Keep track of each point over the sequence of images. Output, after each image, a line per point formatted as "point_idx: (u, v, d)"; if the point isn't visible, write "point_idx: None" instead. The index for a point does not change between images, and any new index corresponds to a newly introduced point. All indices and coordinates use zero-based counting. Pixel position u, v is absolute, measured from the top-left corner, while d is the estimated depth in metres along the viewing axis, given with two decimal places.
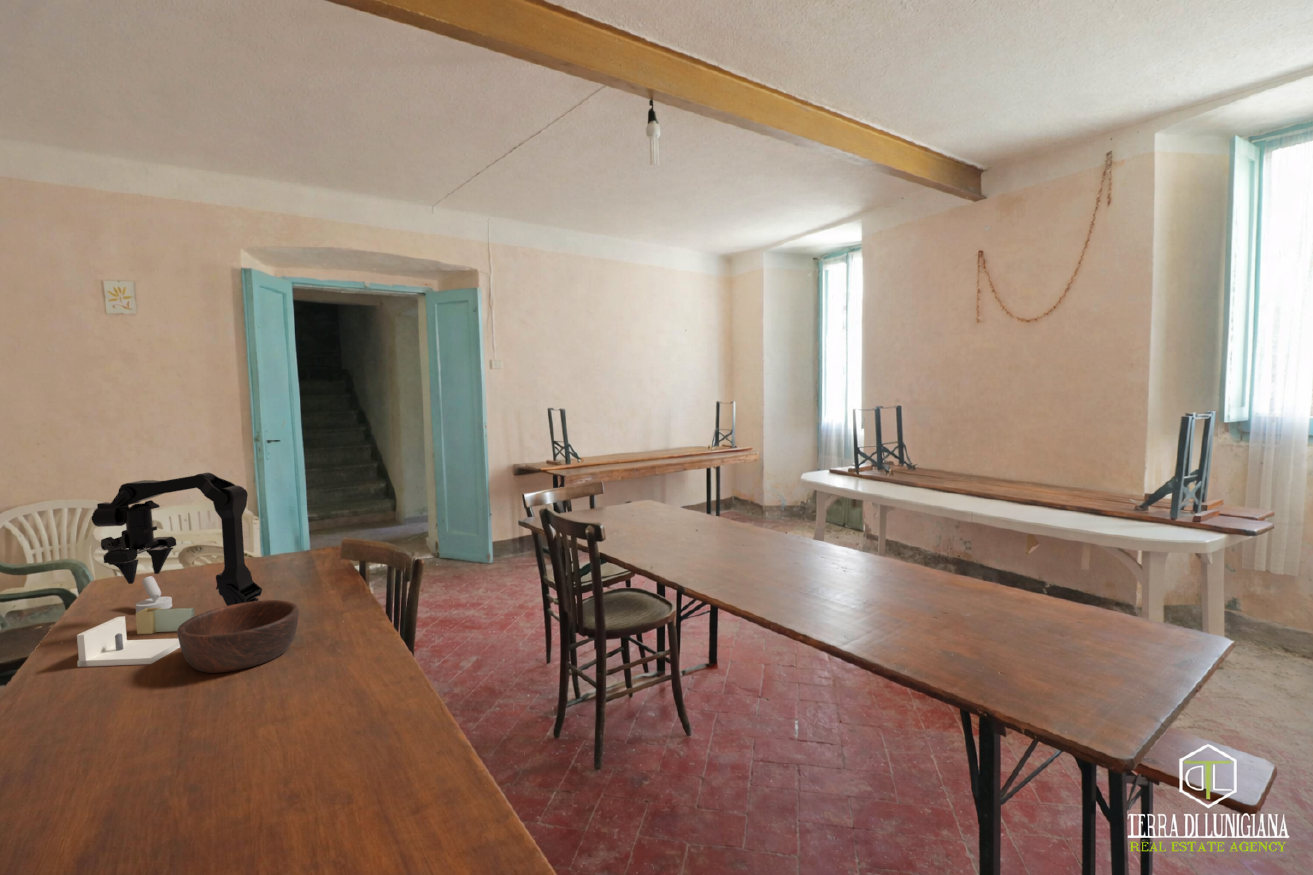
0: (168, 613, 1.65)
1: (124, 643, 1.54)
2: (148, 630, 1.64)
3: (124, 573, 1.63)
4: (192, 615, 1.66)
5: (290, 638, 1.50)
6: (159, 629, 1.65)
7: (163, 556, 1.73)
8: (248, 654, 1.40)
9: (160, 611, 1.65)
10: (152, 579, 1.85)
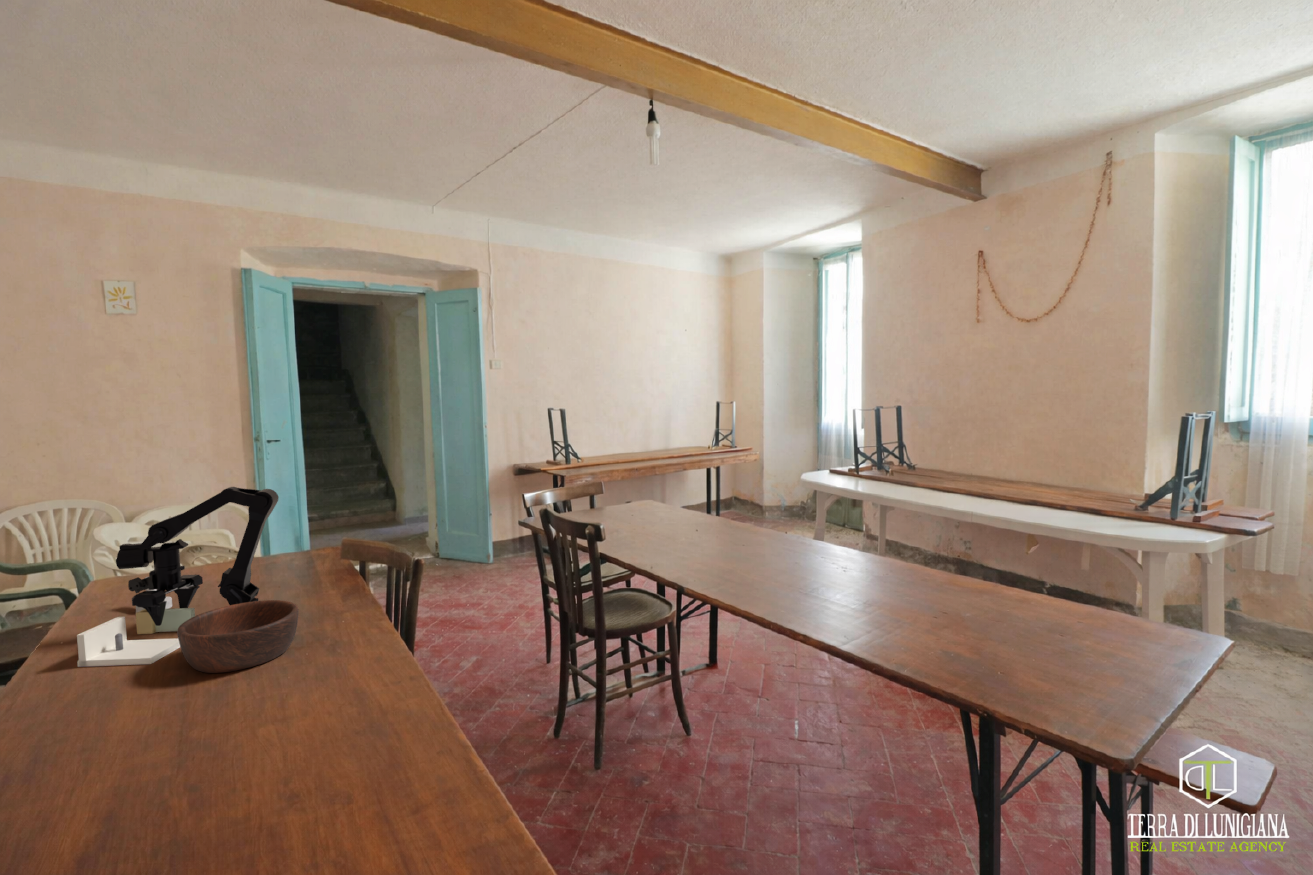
0: (168, 613, 1.65)
1: (124, 643, 1.54)
2: (148, 630, 1.64)
3: (152, 615, 1.60)
4: (192, 615, 1.66)
5: (290, 638, 1.50)
6: (159, 629, 1.65)
7: (190, 595, 1.70)
8: (248, 654, 1.40)
9: None
10: None
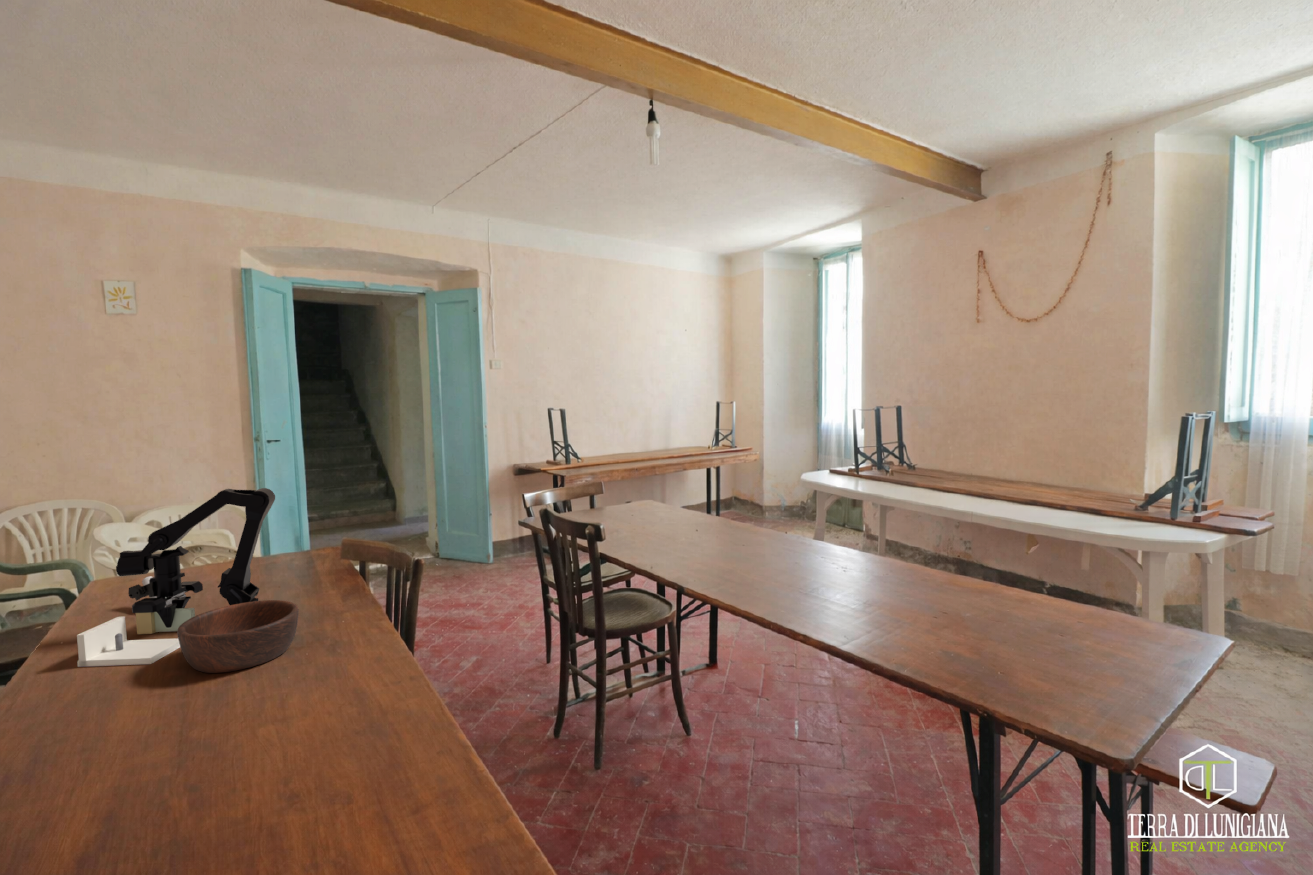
0: None
1: (124, 643, 1.54)
2: (148, 630, 1.64)
3: (162, 617, 1.63)
4: (192, 615, 1.66)
5: (290, 638, 1.50)
6: (159, 629, 1.65)
7: (181, 606, 1.67)
8: (248, 654, 1.40)
9: None
10: None
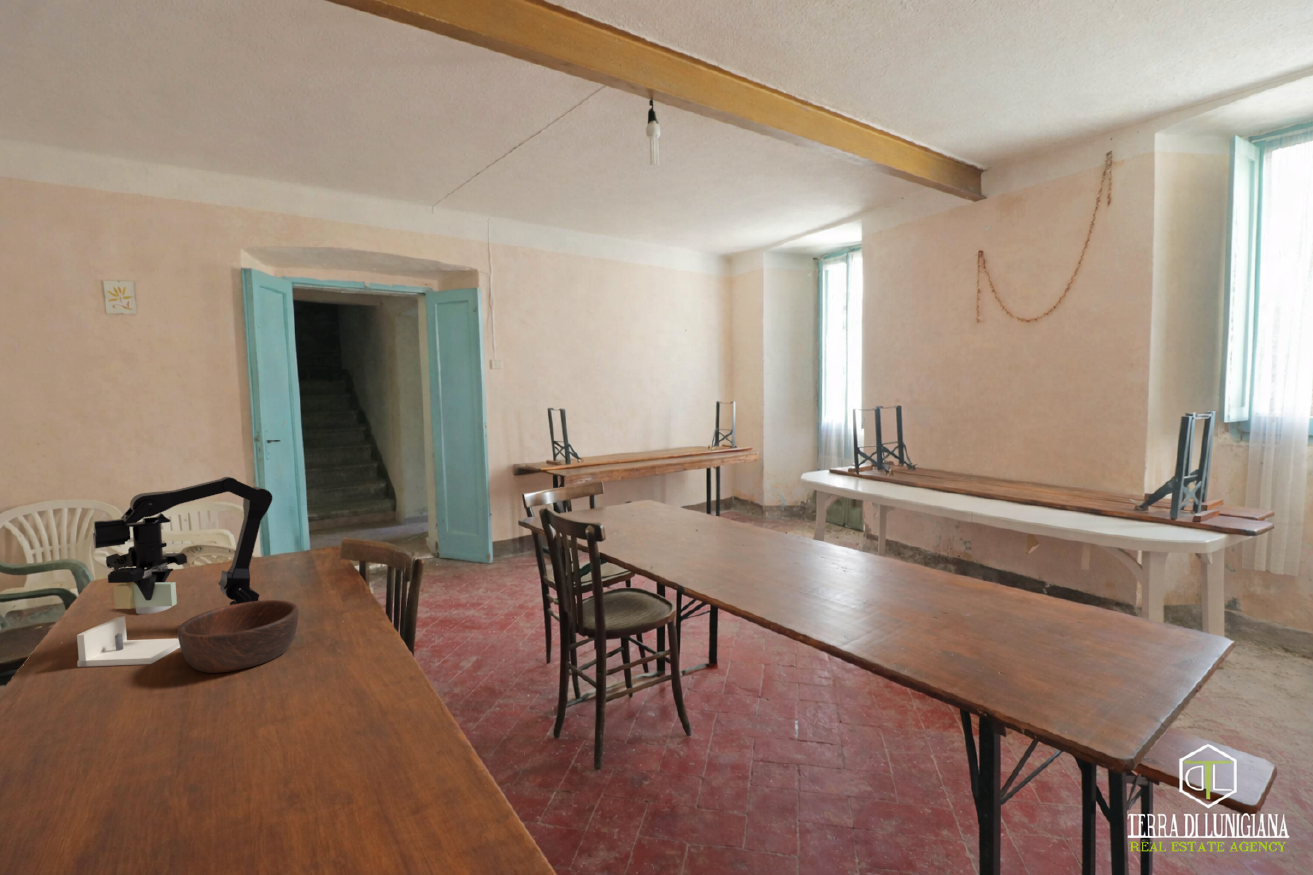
0: None
1: (124, 643, 1.54)
2: (126, 605, 1.54)
3: (141, 589, 1.54)
4: (173, 590, 1.56)
5: (290, 638, 1.50)
6: (138, 604, 1.55)
7: (162, 578, 1.57)
8: (248, 654, 1.40)
9: None
10: None
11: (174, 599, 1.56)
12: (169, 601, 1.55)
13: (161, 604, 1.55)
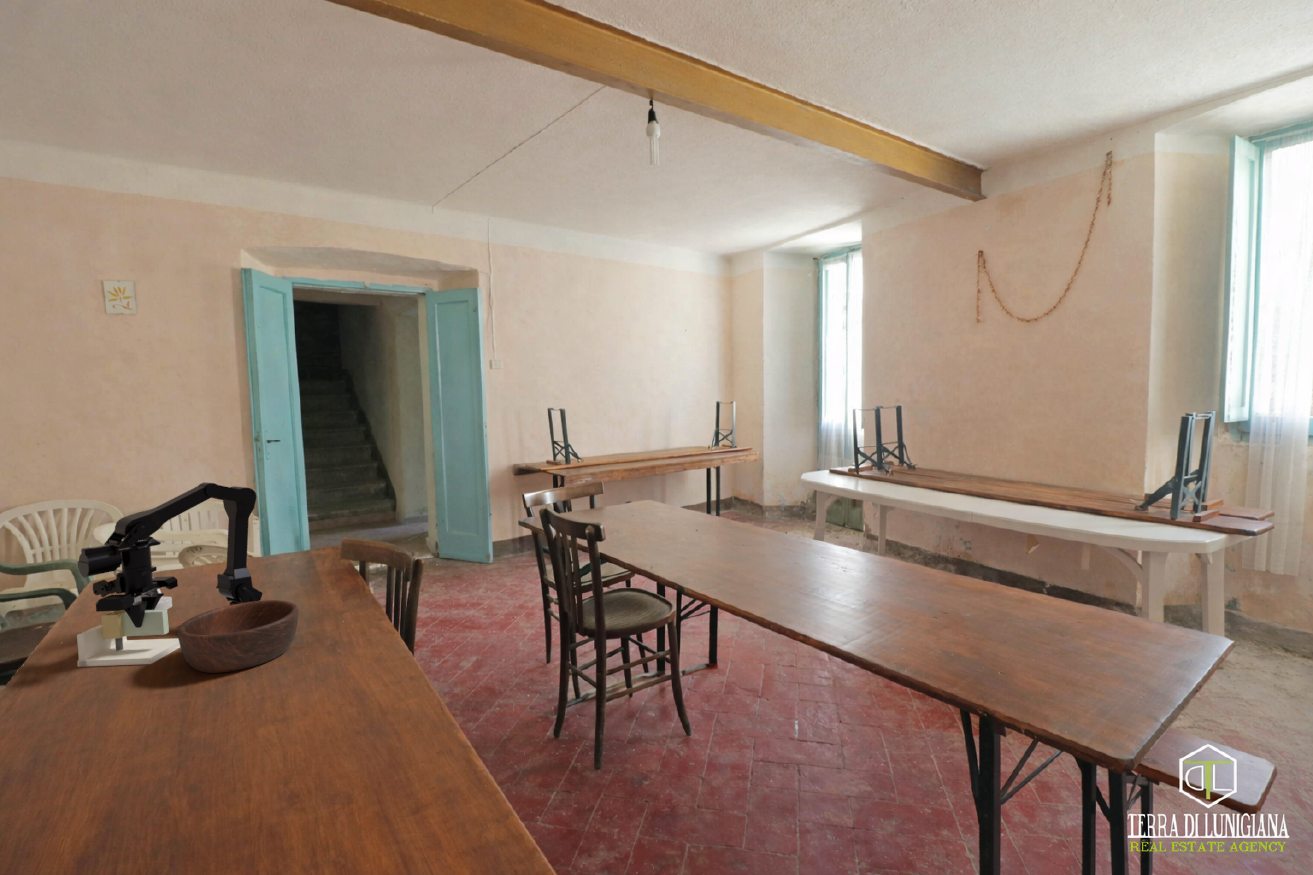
0: None
1: (124, 643, 1.54)
2: (115, 634, 1.48)
3: (131, 616, 1.47)
4: (164, 617, 1.50)
5: (290, 638, 1.50)
6: (128, 633, 1.49)
7: (152, 604, 1.51)
8: (248, 654, 1.40)
9: None
10: None
11: (166, 627, 1.50)
12: (161, 630, 1.49)
13: (153, 633, 1.49)
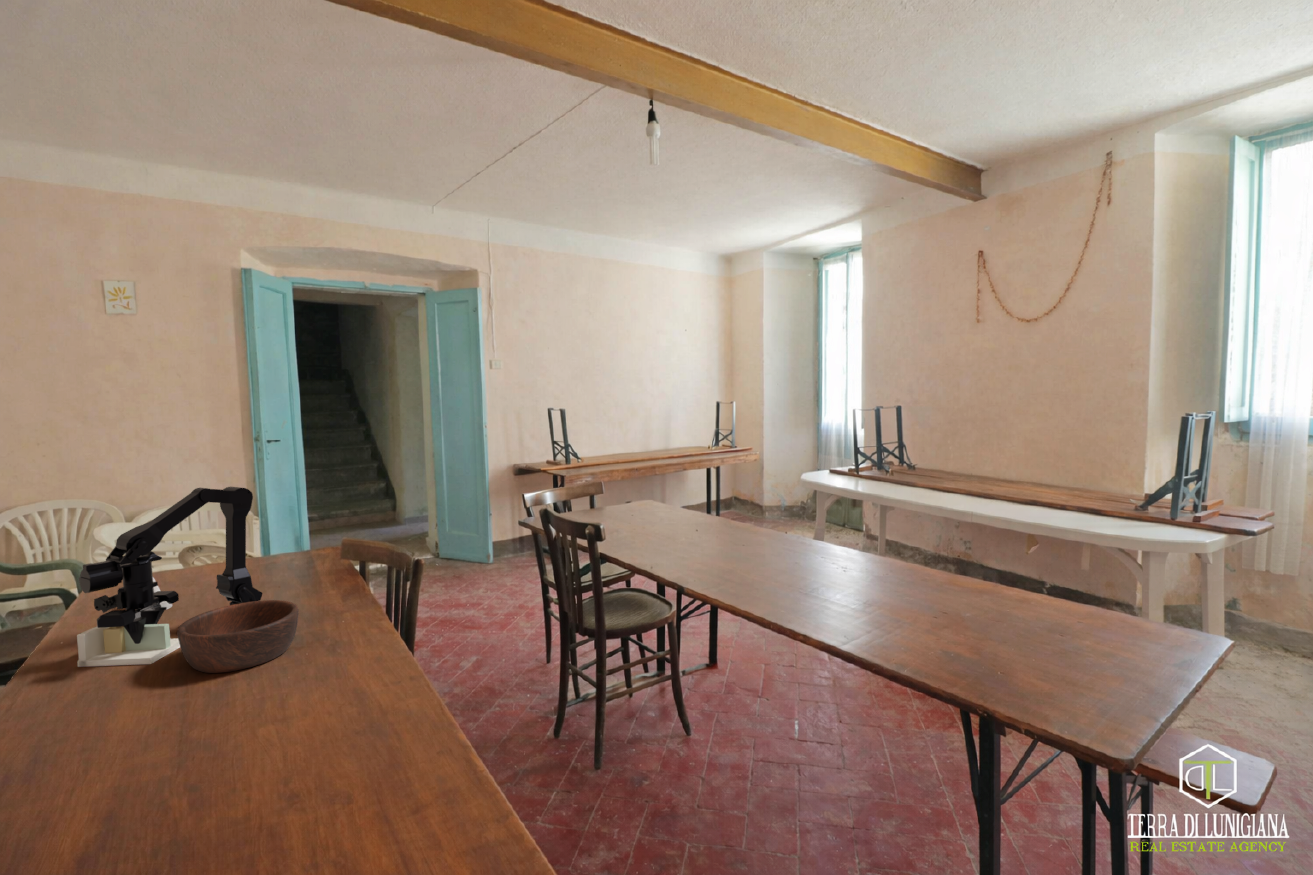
0: None
1: None
2: (117, 649, 1.48)
3: (130, 632, 1.47)
4: (166, 632, 1.50)
5: (290, 638, 1.50)
6: (130, 647, 1.49)
7: (155, 618, 1.52)
8: (248, 654, 1.40)
9: None
10: None
11: (168, 641, 1.51)
12: (163, 644, 1.50)
13: (154, 647, 1.50)
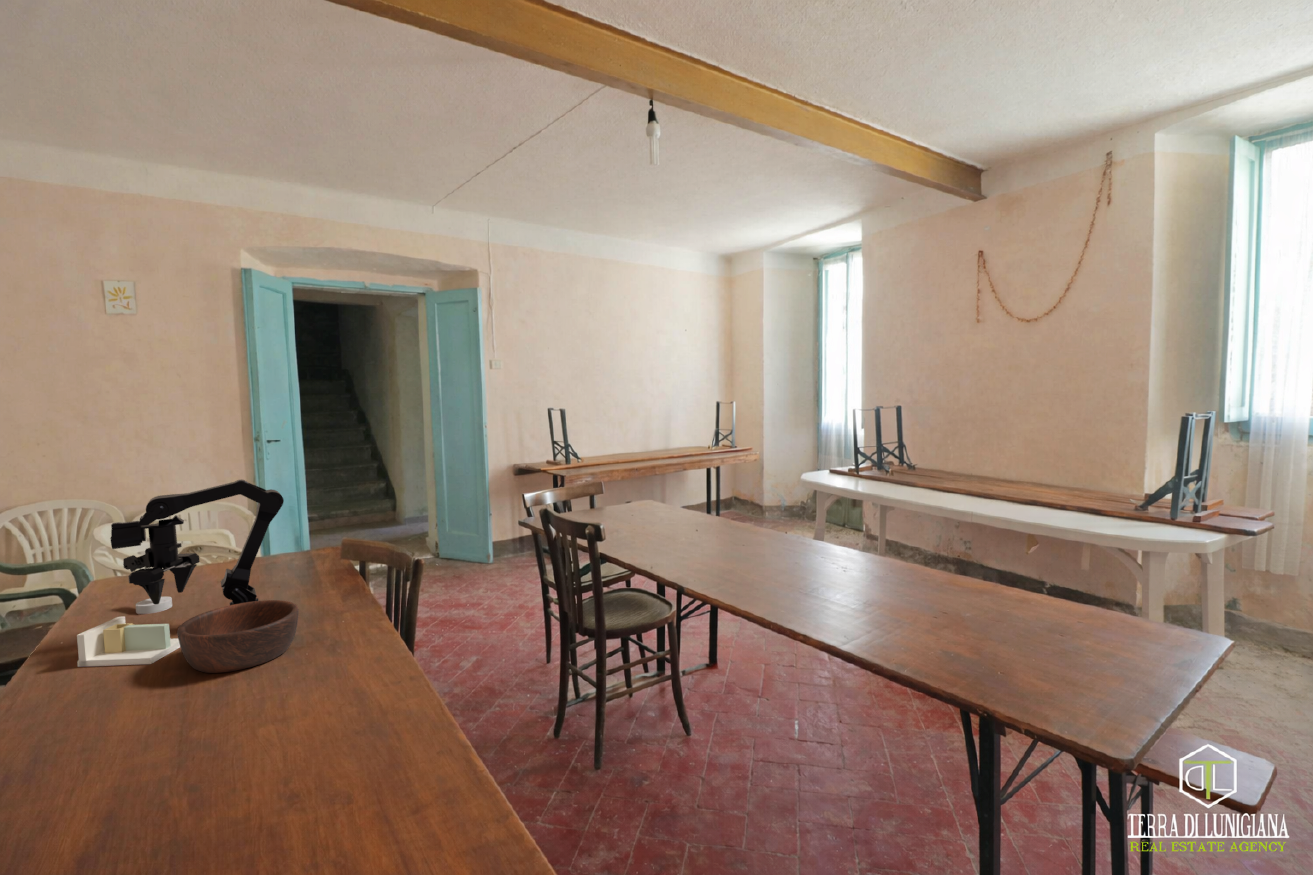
0: (140, 630, 1.49)
1: None
2: (117, 649, 1.48)
3: (149, 593, 1.55)
4: (166, 632, 1.50)
5: (290, 638, 1.50)
6: (130, 647, 1.49)
7: (187, 574, 1.66)
8: (248, 654, 1.40)
9: (131, 627, 1.49)
10: None
11: (168, 641, 1.51)
12: (163, 644, 1.50)
13: (154, 647, 1.50)
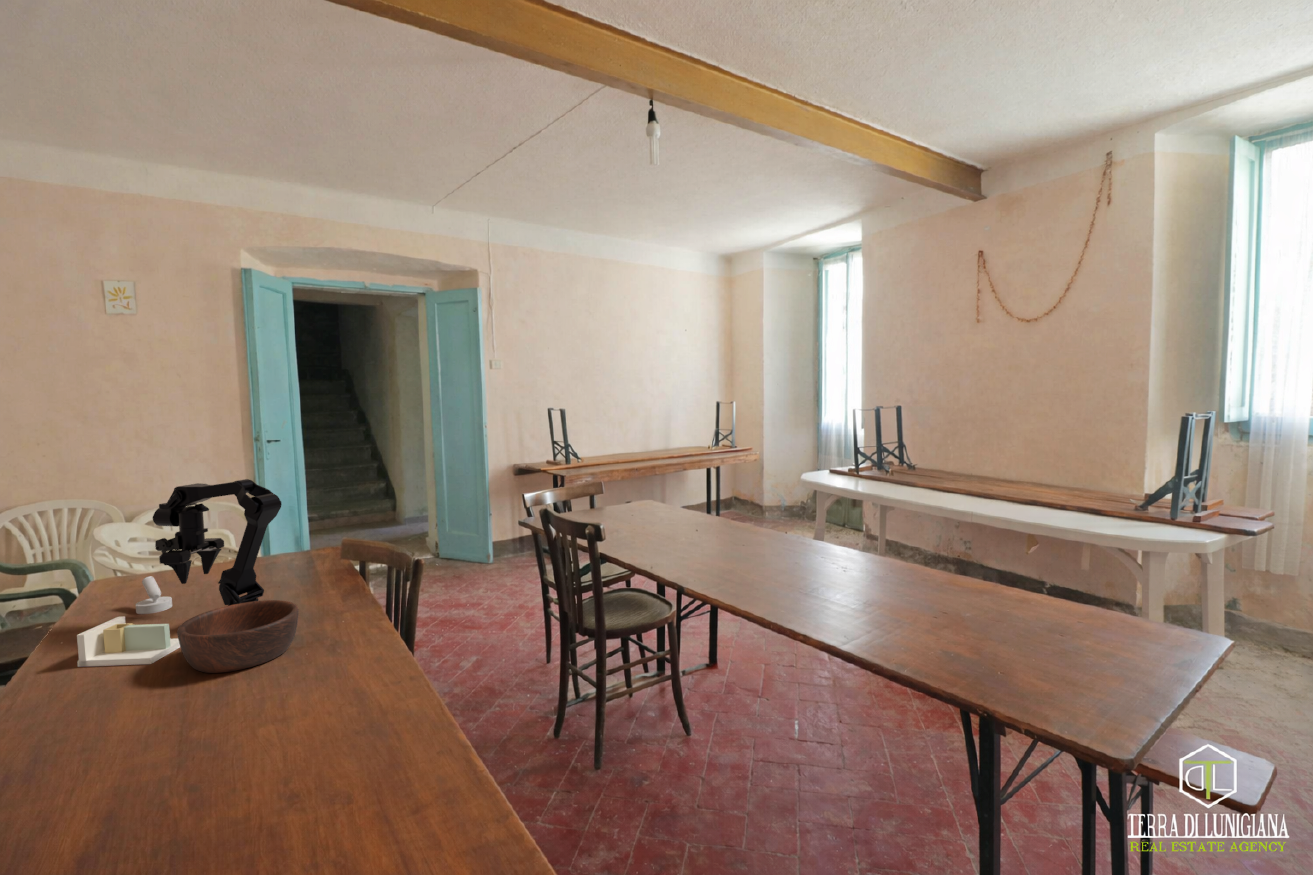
0: (140, 630, 1.49)
1: None
2: (117, 649, 1.48)
3: (178, 573, 1.68)
4: (166, 632, 1.50)
5: (290, 638, 1.50)
6: (130, 647, 1.49)
7: (212, 557, 1.79)
8: (248, 654, 1.40)
9: (131, 627, 1.49)
10: (152, 579, 1.85)
11: (168, 641, 1.51)
12: (163, 644, 1.50)
13: (154, 647, 1.50)
